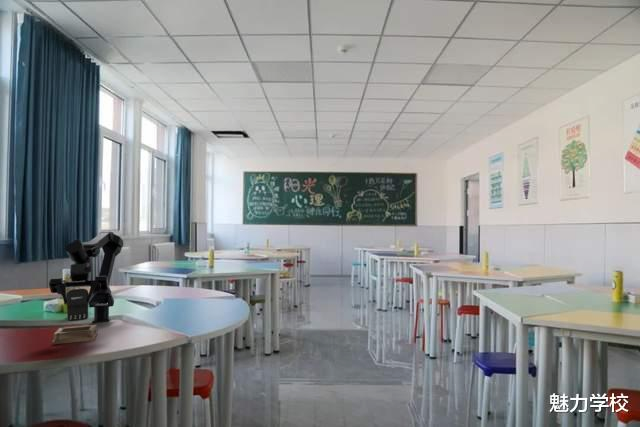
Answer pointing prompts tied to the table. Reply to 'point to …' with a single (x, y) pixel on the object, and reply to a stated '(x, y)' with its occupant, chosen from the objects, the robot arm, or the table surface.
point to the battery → (77, 304)
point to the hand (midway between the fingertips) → (76, 302)
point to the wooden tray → (75, 334)
